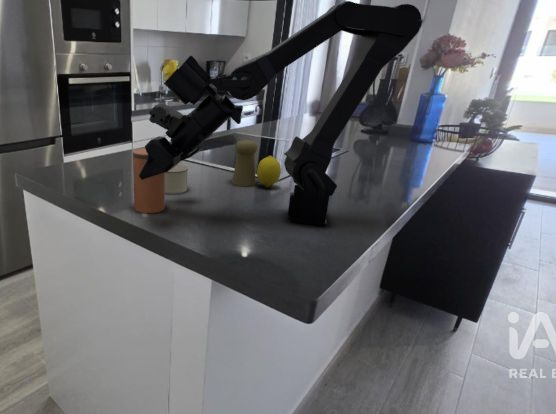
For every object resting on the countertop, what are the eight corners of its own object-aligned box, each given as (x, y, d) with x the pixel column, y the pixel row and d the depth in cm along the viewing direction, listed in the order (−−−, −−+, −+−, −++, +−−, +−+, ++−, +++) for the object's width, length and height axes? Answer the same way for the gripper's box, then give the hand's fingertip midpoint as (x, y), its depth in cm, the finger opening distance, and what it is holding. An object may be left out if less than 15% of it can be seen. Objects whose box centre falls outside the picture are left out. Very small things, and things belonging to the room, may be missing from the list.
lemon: (255, 189, 94) (258, 157, 91) (256, 183, 99) (258, 152, 96) (279, 191, 92) (282, 158, 89) (278, 184, 97) (282, 153, 94)
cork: (258, 186, 96) (262, 142, 92) (234, 186, 96) (237, 143, 93) (252, 179, 102) (256, 138, 98) (229, 179, 102) (232, 138, 98)
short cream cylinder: (190, 186, 97) (191, 165, 95) (182, 195, 90) (183, 172, 89) (163, 183, 99) (163, 163, 97) (153, 192, 93) (153, 170, 91)
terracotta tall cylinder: (168, 204, 85) (169, 148, 80) (159, 214, 79) (158, 155, 75) (140, 201, 87) (139, 146, 83) (129, 211, 81) (127, 153, 77)
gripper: (191, 86, 80) (144, 136, 88) (155, 92, 64) (102, 152, 73) (226, 126, 79) (175, 172, 88) (198, 142, 64) (139, 196, 72)
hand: (150, 172), depth 80 cm, fingers open, 9 cm apart
